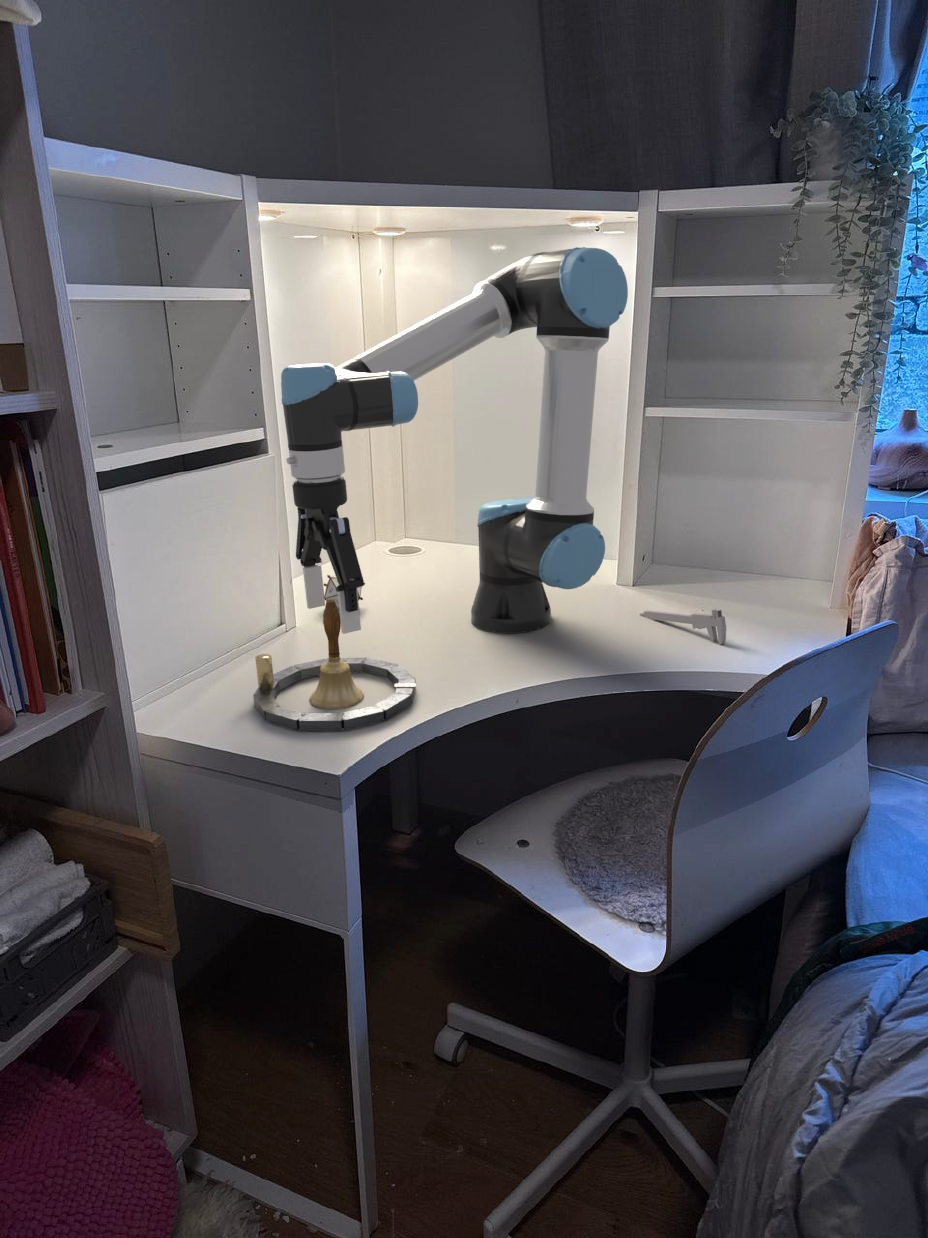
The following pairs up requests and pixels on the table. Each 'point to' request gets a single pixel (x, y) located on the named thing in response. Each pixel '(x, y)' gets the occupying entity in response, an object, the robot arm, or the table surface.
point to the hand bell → (334, 669)
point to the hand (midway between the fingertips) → (333, 618)
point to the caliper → (695, 622)
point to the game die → (332, 592)
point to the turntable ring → (329, 721)
